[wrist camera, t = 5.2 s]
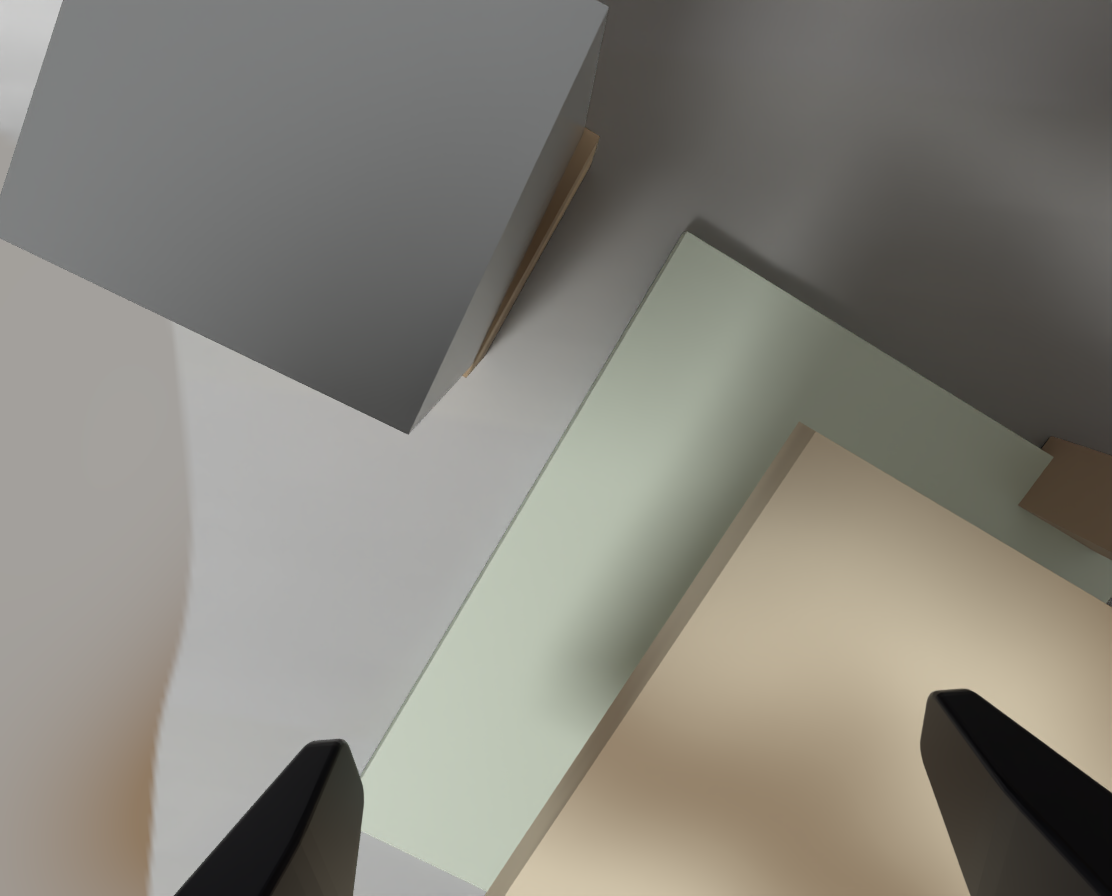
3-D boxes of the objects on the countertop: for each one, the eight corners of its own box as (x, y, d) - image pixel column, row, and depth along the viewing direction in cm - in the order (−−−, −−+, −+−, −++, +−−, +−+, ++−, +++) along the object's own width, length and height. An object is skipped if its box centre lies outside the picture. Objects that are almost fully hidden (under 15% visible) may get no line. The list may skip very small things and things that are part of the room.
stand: (753, 1019, 24) (874, 1470, 15) (335, 818, 23) (185, 1188, 13) (1162, 504, 20) (1656, 692, 11) (693, 214, 19) (827, 156, 10)
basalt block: (472, 363, 16) (407, 434, 9) (245, 251, 15) (-12, 232, 8) (584, 132, 15) (608, 6, 8) (343, 2, 14) (144, -253, 7)
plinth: (484, 356, 19) (465, 377, 16) (294, 248, 19) (227, 242, 15) (590, 165, 18) (600, 136, 15) (393, 44, 18) (349, -20, 14)
